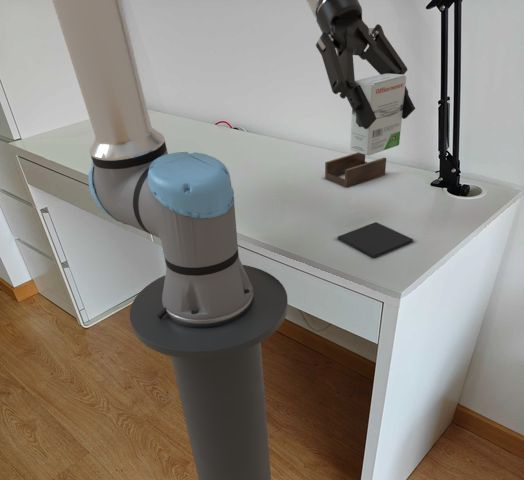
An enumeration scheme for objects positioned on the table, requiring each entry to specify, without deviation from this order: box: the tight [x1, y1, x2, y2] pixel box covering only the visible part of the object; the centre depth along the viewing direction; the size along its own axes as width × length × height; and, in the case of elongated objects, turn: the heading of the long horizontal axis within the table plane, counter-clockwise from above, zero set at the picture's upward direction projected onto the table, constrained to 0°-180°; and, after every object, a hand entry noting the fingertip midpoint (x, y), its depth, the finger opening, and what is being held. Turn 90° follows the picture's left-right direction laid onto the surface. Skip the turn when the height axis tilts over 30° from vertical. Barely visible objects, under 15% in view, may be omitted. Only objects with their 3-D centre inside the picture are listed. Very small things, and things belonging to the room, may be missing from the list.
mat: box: [337, 221, 414, 259], centre depth 95 cm, size 10×10×1 cm
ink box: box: [349, 73, 407, 157], centre depth 89 cm, size 9×5×12 cm, turn 126°
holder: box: [324, 152, 387, 188], centre depth 121 cm, size 12×8×4 cm, turn 124°
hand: (390, 118), depth 87 cm, fingers closed on ink box, 9 cm apart
